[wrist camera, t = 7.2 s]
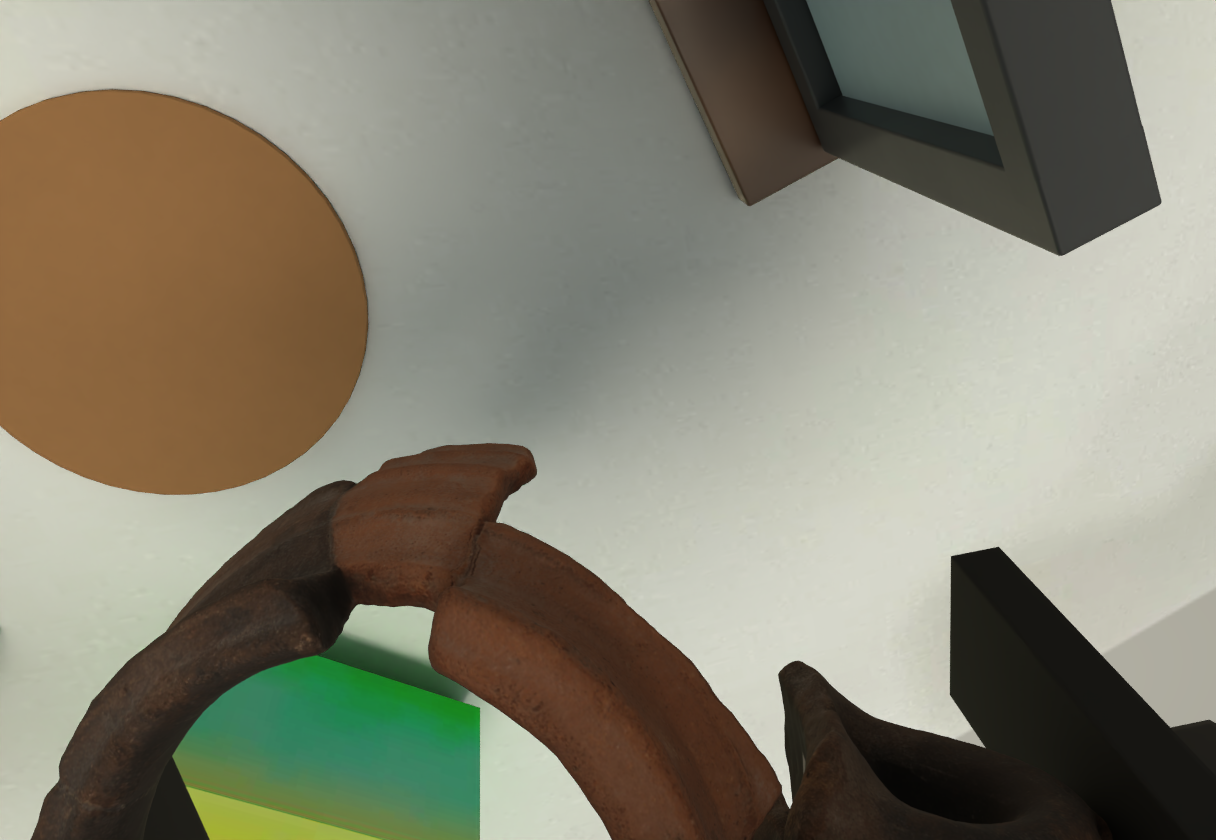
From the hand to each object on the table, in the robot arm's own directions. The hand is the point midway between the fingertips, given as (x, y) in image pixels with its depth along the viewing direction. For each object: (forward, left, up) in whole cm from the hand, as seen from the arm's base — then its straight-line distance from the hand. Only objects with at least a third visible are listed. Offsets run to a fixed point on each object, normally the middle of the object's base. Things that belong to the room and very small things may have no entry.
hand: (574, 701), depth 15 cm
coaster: (+11, -3, -19) cm, 22 cm away
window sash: (-9, -9, -17) cm, 21 cm away
